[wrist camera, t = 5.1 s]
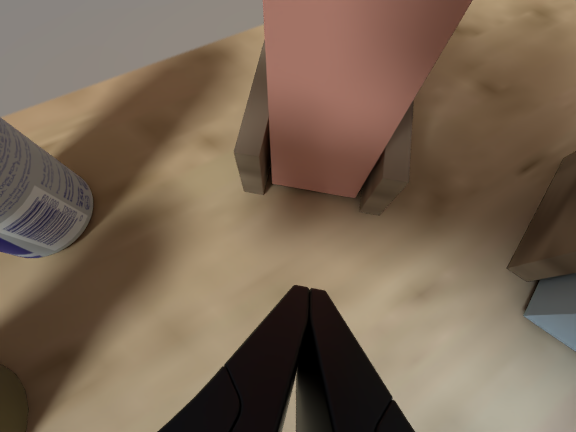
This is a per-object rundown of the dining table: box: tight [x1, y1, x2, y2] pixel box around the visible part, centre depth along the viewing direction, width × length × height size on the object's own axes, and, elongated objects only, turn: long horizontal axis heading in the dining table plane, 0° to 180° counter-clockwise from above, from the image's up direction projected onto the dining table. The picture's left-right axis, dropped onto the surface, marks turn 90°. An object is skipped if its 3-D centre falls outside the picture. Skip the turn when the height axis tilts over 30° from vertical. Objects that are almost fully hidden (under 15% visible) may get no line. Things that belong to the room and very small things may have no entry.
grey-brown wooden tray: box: [234, 40, 414, 215], centre depth 18 cm, size 9×8×4 cm
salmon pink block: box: [263, 0, 472, 198], centre depth 14 cm, size 4×5×12 cm
